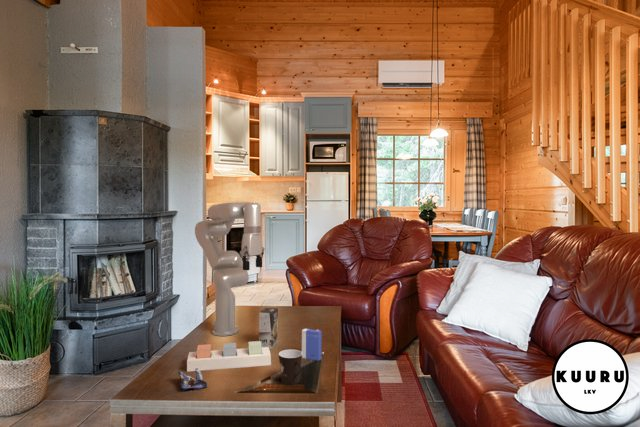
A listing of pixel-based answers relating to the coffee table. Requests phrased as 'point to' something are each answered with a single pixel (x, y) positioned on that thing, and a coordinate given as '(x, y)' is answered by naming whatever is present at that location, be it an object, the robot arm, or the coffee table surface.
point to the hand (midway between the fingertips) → (252, 268)
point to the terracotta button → (204, 351)
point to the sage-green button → (254, 348)
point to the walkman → (311, 344)
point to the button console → (228, 360)
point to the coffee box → (268, 327)
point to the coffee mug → (290, 365)
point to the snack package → (198, 380)
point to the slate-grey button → (229, 349)
